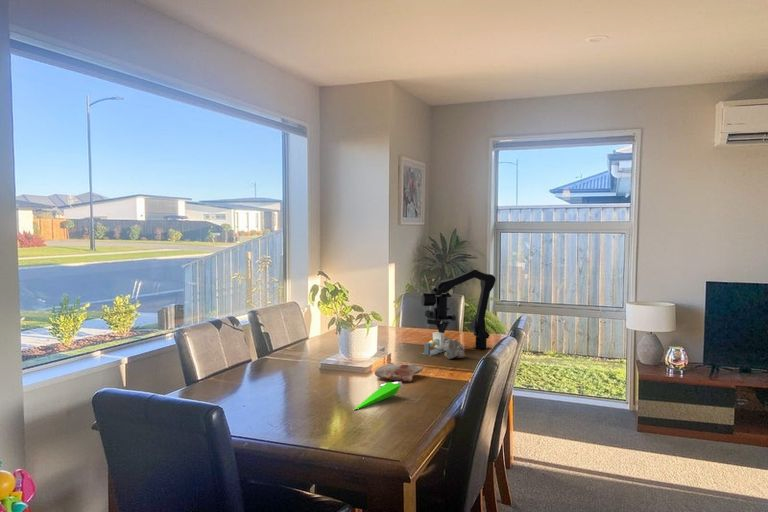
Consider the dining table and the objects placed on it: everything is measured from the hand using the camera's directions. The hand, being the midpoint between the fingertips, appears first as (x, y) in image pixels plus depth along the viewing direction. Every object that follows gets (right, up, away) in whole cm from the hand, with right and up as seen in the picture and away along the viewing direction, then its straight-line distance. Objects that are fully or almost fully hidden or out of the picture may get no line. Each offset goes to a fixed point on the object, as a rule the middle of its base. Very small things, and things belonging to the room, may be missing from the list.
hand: (441, 335), depth 291 cm
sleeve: (-2, -6, -2) cm, 6 cm away
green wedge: (-31, -13, -83) cm, 90 cm away
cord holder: (-3, -8, -3) cm, 9 cm away
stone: (-23, -11, -52) cm, 58 cm away
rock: (+5, -9, -16) cm, 19 cm away
